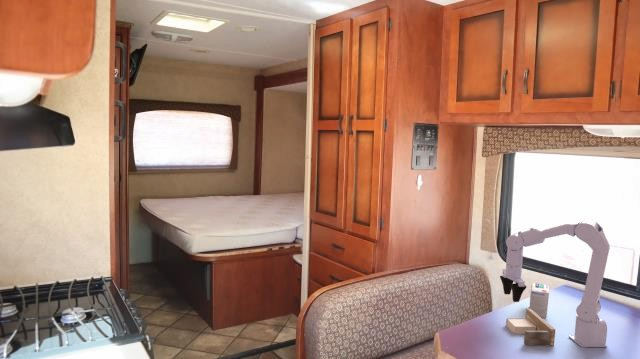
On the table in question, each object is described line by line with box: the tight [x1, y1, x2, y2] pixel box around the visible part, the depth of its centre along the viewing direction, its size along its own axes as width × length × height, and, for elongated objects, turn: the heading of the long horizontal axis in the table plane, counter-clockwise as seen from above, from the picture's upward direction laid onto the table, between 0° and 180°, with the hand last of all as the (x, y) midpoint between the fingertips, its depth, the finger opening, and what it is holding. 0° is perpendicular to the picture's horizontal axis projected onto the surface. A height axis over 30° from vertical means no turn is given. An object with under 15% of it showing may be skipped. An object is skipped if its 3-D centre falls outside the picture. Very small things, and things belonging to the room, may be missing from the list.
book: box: [505, 317, 536, 335], centre depth 174 cm, size 8×7×3 cm
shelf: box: [523, 308, 556, 347], centre depth 170 cm, size 10×18×6 cm, turn 2°
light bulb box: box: [528, 282, 550, 319], centre depth 190 cm, size 11×7×11 cm, turn 154°
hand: (511, 297), depth 181 cm, fingers open, 7 cm apart
